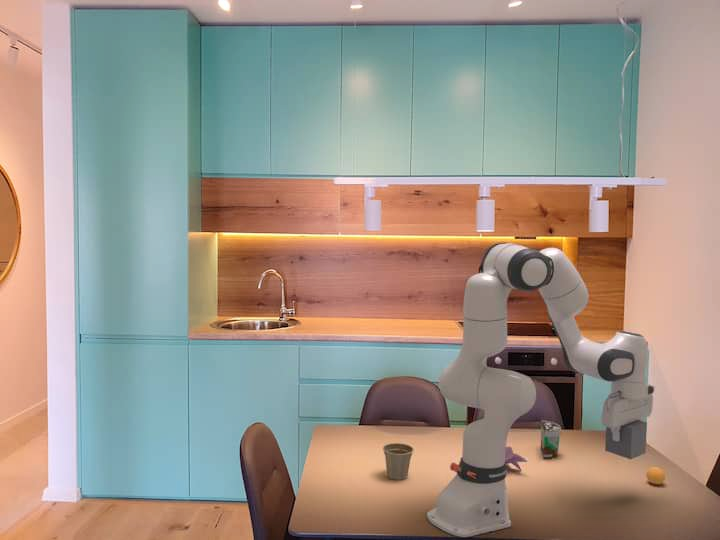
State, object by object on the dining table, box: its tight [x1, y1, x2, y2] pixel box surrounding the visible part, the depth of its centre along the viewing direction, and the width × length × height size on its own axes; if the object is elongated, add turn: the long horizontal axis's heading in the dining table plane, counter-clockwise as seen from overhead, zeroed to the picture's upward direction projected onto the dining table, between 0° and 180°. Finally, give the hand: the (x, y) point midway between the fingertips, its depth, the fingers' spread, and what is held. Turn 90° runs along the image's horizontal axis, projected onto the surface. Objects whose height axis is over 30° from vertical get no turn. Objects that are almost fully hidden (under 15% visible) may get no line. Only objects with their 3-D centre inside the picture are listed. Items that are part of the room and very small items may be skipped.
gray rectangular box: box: [604, 420, 648, 460], centre depth 169 cm, size 8×8×9 cm
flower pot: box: [382, 442, 415, 481], centre depth 182 cm, size 9×9×9 cm
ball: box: [646, 466, 666, 485], centre depth 180 cm, size 5×5×5 cm
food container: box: [540, 419, 563, 460], centre depth 203 cm, size 12×6×10 cm, turn 168°
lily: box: [505, 446, 528, 471], centre depth 188 cm, size 12×12×10 cm
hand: (626, 437), depth 169 cm, fingers closed on gray rectangular box, 8 cm apart
